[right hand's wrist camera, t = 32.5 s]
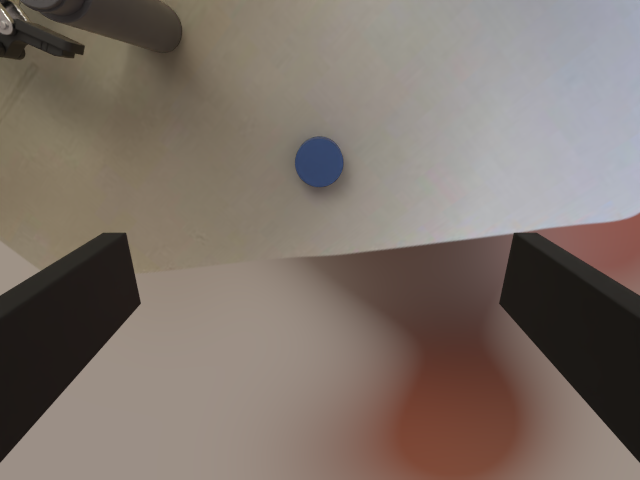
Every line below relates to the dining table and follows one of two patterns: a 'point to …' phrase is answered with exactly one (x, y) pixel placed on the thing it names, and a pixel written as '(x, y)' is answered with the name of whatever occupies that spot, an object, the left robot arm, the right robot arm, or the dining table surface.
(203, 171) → the dining table surface
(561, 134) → the dining table surface
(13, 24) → the left robot arm
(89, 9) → the grey cylinder
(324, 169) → the lid
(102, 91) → the dining table surface
